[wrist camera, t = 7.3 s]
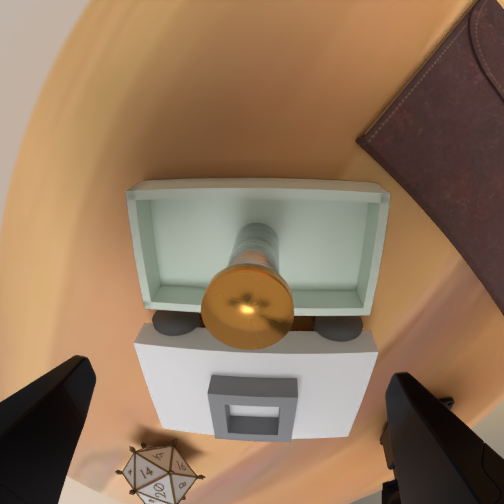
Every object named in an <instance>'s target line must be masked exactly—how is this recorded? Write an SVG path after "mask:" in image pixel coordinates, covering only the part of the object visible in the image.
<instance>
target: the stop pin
mask: <svg viewBox="0 0 504 504" xmlns="http://www.w3.org/2000/svg"><path fill="white" fill-rule="evenodd" d="M201 316H202V320H203V323H204V324H205V326H206V328H207V329H208V331H209V332H210V333H211V334H212V335H213V336H214V337H215V338H216V339H217V340H219V341H220V342H222V343H224V344H226V345H228V346H230V347H234V348H237V349H243V350H257V349H263V348H266V347H269V346H272V345H274V344H276V343H277V342H279V341H280V340H281V339H283V338H284V337H285V336H286V335H287V333H288V332H289V330H290V328H291V327H292V324H293V320H294V303H293V295H292V292H291V289H290V287H289V285H288V284H287V282H286V281H285V280H284V279H283V277H282V276H280V269H279V240H278V236H277V234H276V232H275V231H274V230H273V229H272V228H271V227H270V226H268V225H266V224H263V223H251V224H248V225H246V226H244V227H243V228H242V229H241V230H240V231H239V232H238V234H237V236H236V239H235V243H234V246H233V249H232V252H231V255H230V259H229V262H228V265H227V268H225V269H223V270H221V271H220V272H218V273H217V274H216V275H215V276H214V277H213V278H212V279H211V281H210V282H209V284H208V286H207V289H206V291H205V294H204V297H203V299H202V303H201Z"/></svg>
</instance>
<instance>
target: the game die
mask: <svg viewBox="0 0 504 504" xmlns="http://www.w3.org/2000/svg"><path fill="white" fill-rule="evenodd" d="M172 441H173V442H172V445H168V446H158V447H146V445H145V444H144V443H142V444H141V446H142V449H140V450H137V451H135V449H134V447H130V446H129V447H130V451H131V452H133V455H132V456H131V458H130V460H129V461H128V463H127V465H126V466H125V468H124V470H123V471H119V470H117V471H115V472H116V473H117V474H123V476H124V477H125V479H126V480H127V482H128V483H129V484H130V486H131V487H132V489H133V490H130V493H129V494H132V495H134V494H135V493H136V494H137V495H138V496H139V498H140V499H141V500H142V501H143V502H144V504H179V502H180V501H181V500H185V494H186V493H187V492H188V490H189V489H190V488H191V486H192V485H193V484H194V482H195V481H196V480H197V479H202V480H203V478H205V476H203V475H199V476H197V475H196V474H195V473H194V471H193V470H192V469H191V468H190V466H189V465H188V464H187V462H186V461H185V460H184V458H183V457H182V456H181V455H180V453H179V452H178V451H177V449H176V448H175V445H176V443H177V439H175V440H172Z"/></svg>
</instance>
